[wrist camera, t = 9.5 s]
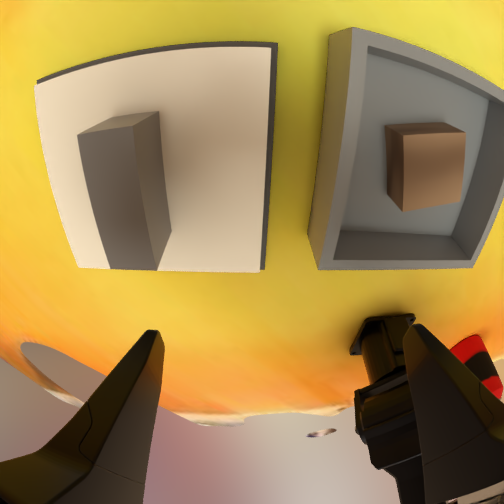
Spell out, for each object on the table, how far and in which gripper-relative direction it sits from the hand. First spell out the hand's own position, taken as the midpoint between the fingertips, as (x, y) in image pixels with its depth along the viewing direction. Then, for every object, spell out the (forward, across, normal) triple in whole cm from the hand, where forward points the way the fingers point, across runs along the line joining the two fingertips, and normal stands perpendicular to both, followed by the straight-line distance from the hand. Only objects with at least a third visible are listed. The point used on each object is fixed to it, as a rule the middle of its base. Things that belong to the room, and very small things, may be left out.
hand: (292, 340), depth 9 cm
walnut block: (+11, -10, -4) cm, 15 cm away
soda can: (+13, -33, +25) cm, 43 cm away
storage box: (+12, -10, -4) cm, 16 cm away
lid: (+11, +8, -2) cm, 14 cm away
